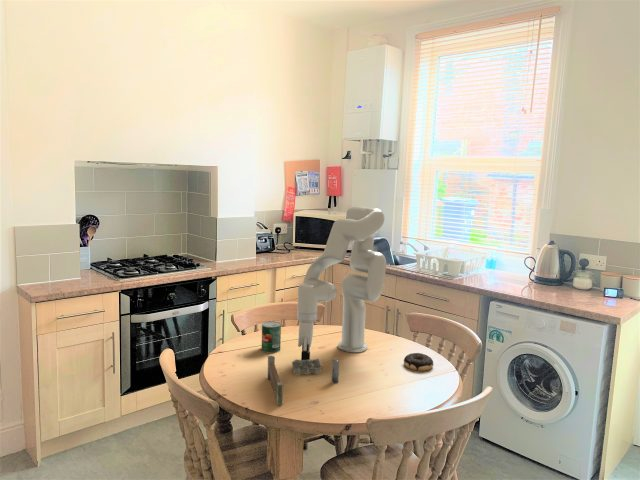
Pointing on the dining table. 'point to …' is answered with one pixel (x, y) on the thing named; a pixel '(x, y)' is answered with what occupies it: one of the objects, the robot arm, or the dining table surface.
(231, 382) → the dining table surface
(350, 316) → the robot arm
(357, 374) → the dining table surface
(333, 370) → the gate posts
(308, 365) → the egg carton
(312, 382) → the dining table surface
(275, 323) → the canned tomato
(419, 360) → the donut
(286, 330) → the dining table surface
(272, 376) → the gate
